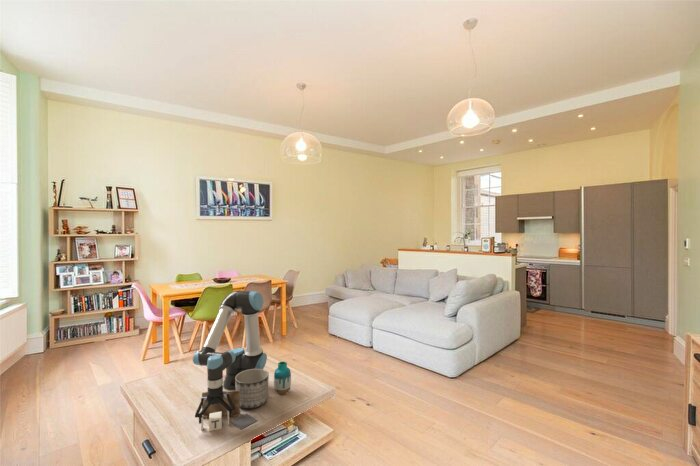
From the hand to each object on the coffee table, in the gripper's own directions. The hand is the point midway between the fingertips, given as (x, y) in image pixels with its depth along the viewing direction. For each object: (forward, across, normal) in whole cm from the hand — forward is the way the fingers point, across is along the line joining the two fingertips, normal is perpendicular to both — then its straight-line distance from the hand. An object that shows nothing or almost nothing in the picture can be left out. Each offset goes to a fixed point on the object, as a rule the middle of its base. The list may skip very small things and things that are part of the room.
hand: (215, 426), depth 174 cm
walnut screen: (0, +3, +11) cm, 11 cm away
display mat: (0, +14, -1) cm, 14 cm away
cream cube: (0, 0, 0) cm, 0 cm away
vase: (0, +39, +23) cm, 45 cm away
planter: (0, +20, +17) cm, 27 cm away
